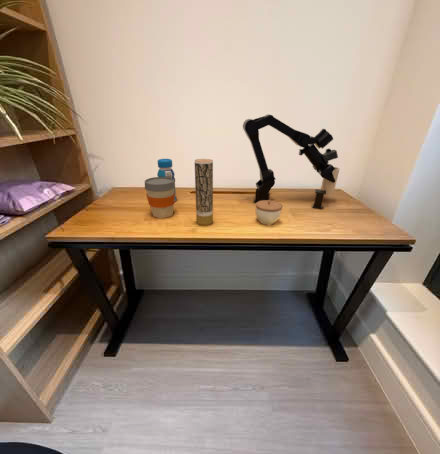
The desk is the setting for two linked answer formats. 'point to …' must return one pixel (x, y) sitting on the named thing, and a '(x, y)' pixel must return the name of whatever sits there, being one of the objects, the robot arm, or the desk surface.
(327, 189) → the pen pot
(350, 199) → the desk surface
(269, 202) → the trinket box
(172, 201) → the reusable coffee cup
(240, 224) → the desk surface
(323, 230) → the desk surface
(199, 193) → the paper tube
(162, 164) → the beverage bottle
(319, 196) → the leg piece
